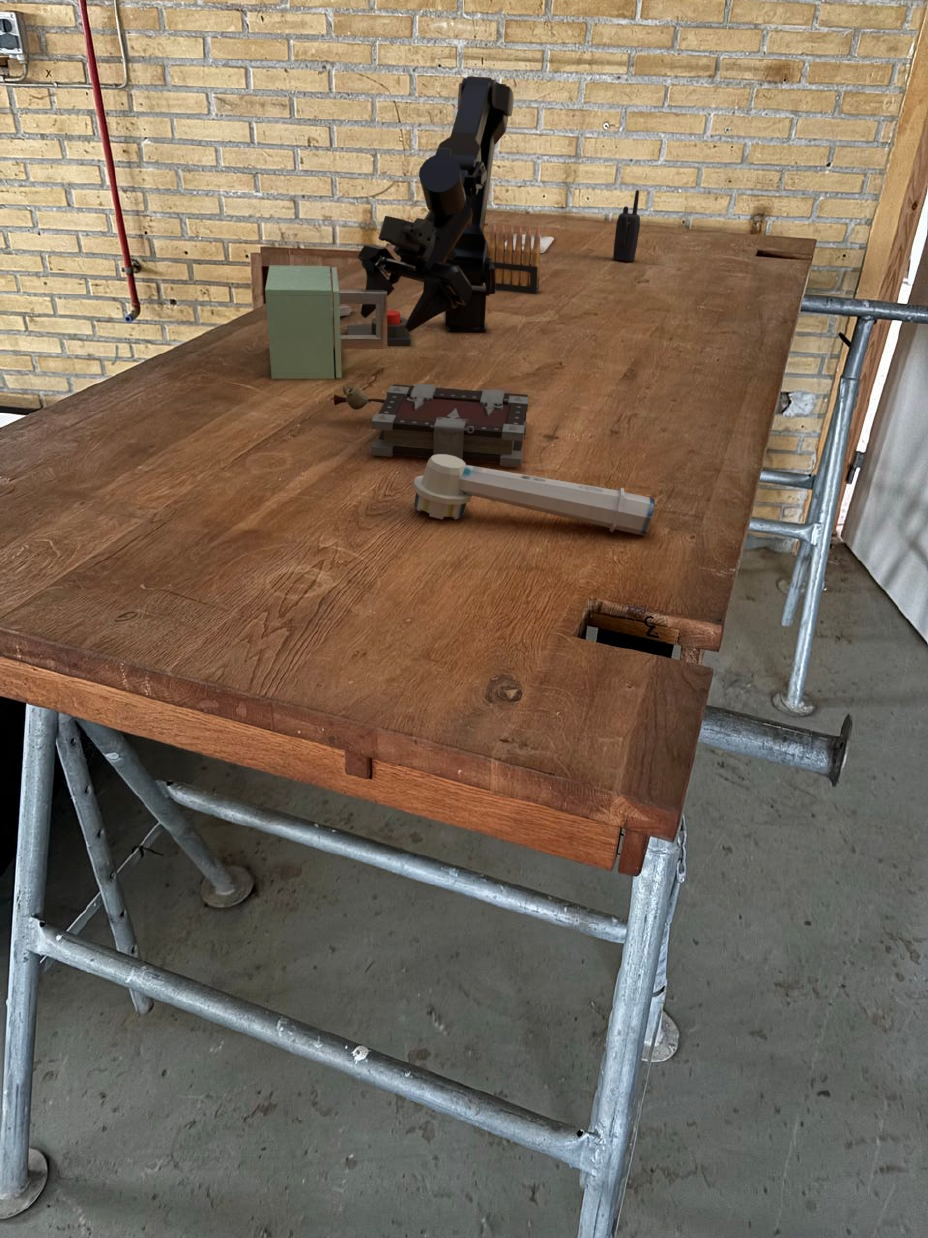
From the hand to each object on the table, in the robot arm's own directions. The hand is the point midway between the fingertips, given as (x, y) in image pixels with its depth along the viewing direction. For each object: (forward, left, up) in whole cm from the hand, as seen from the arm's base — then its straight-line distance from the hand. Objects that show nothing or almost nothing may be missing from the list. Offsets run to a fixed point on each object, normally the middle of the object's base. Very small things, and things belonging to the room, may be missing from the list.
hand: (384, 322), depth 131 cm
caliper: (+8, -25, -8) cm, 28 cm away
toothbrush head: (-13, +48, -8) cm, 50 cm away
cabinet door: (+3, -6, -7) cm, 10 cm away
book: (-4, +25, -8) cm, 26 cm away
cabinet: (+12, -6, -8) cm, 15 cm away
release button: (-2, -18, -5) cm, 19 cm away
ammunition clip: (-28, -52, -8) cm, 60 cm away
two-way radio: (-59, -80, -8) cm, 100 cm away
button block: (0, -18, -8) cm, 20 cm away
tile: (-42, -86, -7) cm, 96 cm away
